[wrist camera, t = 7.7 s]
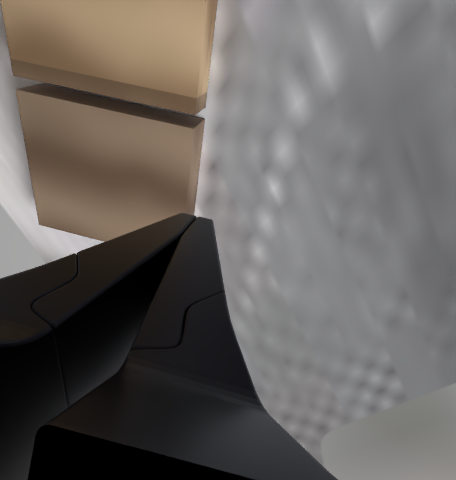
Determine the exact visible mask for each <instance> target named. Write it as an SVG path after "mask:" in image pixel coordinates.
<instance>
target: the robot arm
mask: <svg viewBox="0 0 456 480" xmlns="http://www.w3.org/2000/svg"><path fill="white" fill-rule="evenodd" d="M0 480H338V479H337V478H335V477H334V476H333V475H331V473H329V472H328V471H327V470H326V469H325V468H324V467H323V466H322V465H321V464H320V463H319V462H318V461H317V460H316V459H315V458H314V457H313V456H312V455H311V454H310V453H308V452H307V451H306V450H305V449H304V448H303V447H302V446H301V445H300V444H299V443H298V442H297V441H296V440H295V439H294V438H293V437H292V436H291V435H290V434H289V433H288V432H287V431H285V430H284V429H283V428H282V427H281V426H280V425H279V424H278V423H277V422H276V421H275V420H274V419H273V418H272V417H271V416H270V415H269V414H268V412H267V411H266V410H265V408H264V407H263V405H262V403H261V401H260V399H259V397H258V395H257V393H256V390H255V388H254V385H253V383H252V380H251V377H250V374H249V372H248V369H247V366H246V363H245V361H244V358H243V355H242V352H241V350H240V347H239V344H238V342H237V339H236V336H235V333H234V329H233V326H232V323H231V320H230V315H229V311H228V306H227V301H226V295H225V290H224V284H223V278H222V272H221V266H220V260H219V254H218V248H217V242H216V236H215V230H214V224H213V221H212V220H211V219H207V218H203V217H196V216H194V215H191V214H187V213H179V214H177V215H174V216H171V217H169V218H166V219H163V220H161V221H158V222H156V223H153V224H150V225H148V226H145V227H143V228H140V229H137V230H135V231H132V232H129V233H127V234H124V235H122V236H119V237H116V238H114V239H111V240H109V241H106V242H103V243H101V244H98V245H95V246H93V247H90V248H87V249H85V250H82V251H80V252H78V253H77V255H76V254H72V255H69V256H66V257H64V258H61V259H58V260H56V261H53V262H50V263H47V264H44V265H42V266H39V267H36V268H33V269H30V270H26V271H23V272H20V273H17V274H14V275H11V276H7V277H4V278H1V279H0Z"/></svg>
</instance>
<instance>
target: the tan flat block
mask: <svg viewBox="0 0 456 480" xmlns="http://www.w3.org/2000/svg"><path fill="white" fill-rule="evenodd" d="M16 95H17V100H18V106H19V112H20V118H21V123H22V129H23V135H24V141H25V146H26V152H27V158H28V164H29V169H30V175H31V181H32V187H33V192H34V198H35V204H36V210H37V215H38V221H39V225H42V226H46V227H50V228H54V229H58V230H62V231H66V232H69V233H73V234H77V235H81V236H85V237H89V238H93V239H97V240H100V241H104V242H106V241H109V240H111V239H114V238H116V237H119V236H122V235H124V234H127V233H129V232H132V231H135V230H137V229H140V228H143V227H145V226H148V225H150V224H153V223H156V222H158V221H161V220H163V219H166V218H169V217H171V216H174V215H177V214H179V213H187V214H191V215H194V210H195V201H196V193H197V184H198V175H199V166H200V158H201V149H202V140H203V131H204V123H205V119H203V118H198V117H194V116H189V115H184V114H180V113H175V112H171V111H166V110H161V109H157V108H152V107H148V106H143V105H138V104H134V103H129V102H125V101H120V100H115V99H111V98H106V97H102V96H97V95H92V94H88V93H83V92H79V91H74V90H69V89H65V88H60V87H56V86H51V85H46V84H38V85H34V86H29V87H25V88H20V89H16Z"/></svg>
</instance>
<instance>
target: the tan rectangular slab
mask: <svg viewBox="0 0 456 480" xmlns="http://www.w3.org/2000/svg"><path fill="white" fill-rule="evenodd" d="M0 1H1V6H2V12H3V18H4V24H5V30H6V36H7V42H8V48H9V54H10V59H11V65H12V71H13V76H18V77H22V78H27V79H32V80H36V81H41V82H45V83H50V84H55V85H59V86H64V87H69V88H73V89H78V90H82V91H87V92H92V93H96V94H101V95H105V96H110V97H115V98H119V99H124V100H128V101H133V102H138V103H142V104H147V105H152V106H156V107H161V108H165V109H170V110H175V111H179V112H184V113H188V114H193V115H196V114H197V113H198V112H200V111H201V110H202V109H204V108H205V106H206V97H207V89H208V80H209V71H210V62H211V54H212V45H213V36H214V27H215V19H216V10H217V1H218V0H0Z"/></svg>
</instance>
